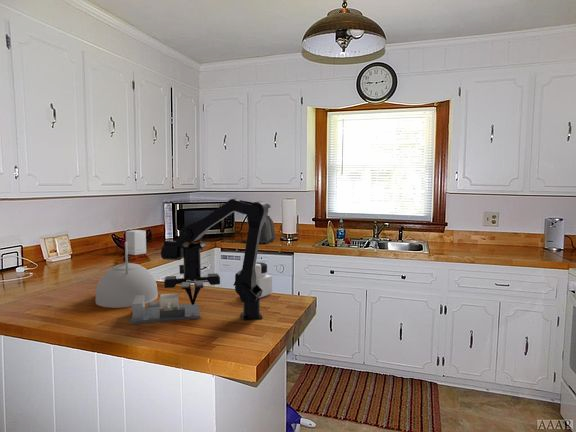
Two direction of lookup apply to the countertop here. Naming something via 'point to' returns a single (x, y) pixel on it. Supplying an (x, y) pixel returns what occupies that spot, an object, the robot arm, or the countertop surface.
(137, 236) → the supplement box
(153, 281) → the grey dome with rod
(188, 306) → the gauge bench
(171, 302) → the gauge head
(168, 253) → the robot arm
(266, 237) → the bottle
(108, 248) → the countertop surface
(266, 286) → the container
